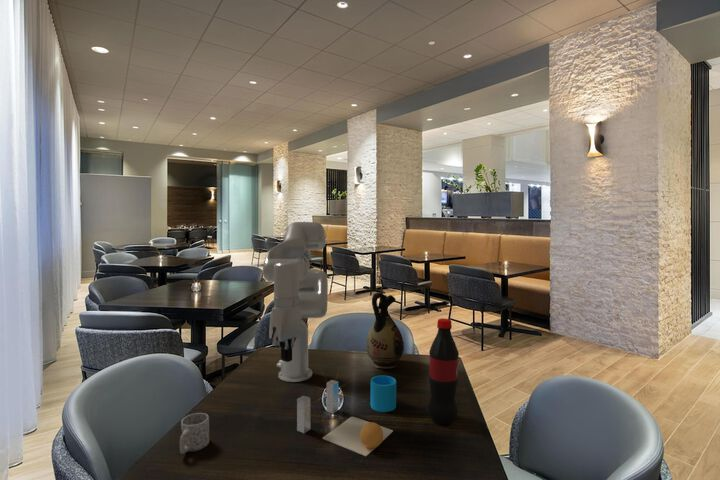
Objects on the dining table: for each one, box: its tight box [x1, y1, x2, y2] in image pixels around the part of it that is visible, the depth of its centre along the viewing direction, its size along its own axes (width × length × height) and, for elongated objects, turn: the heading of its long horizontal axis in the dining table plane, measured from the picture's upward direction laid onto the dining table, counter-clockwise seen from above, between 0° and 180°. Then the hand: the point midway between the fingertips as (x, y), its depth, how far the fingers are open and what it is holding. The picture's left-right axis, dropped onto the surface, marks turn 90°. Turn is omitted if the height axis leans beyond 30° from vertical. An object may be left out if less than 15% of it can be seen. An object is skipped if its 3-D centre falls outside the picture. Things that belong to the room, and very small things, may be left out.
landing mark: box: [322, 416, 394, 457], centre depth 105 cm, size 14×14×1 cm
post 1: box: [296, 395, 311, 434], centre depth 107 cm, size 3×3×9 cm
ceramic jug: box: [365, 292, 405, 370], centre depth 155 cm, size 17×15×30 cm
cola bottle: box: [427, 317, 459, 425], centre depth 113 cm, size 8×8×30 cm
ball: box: [360, 421, 384, 449], centre depth 99 cm, size 6×6×6 cm
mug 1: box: [179, 412, 210, 455], centre depth 98 cm, size 10×7×7 cm, turn 174°
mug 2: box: [369, 375, 397, 413], centre depth 124 cm, size 12×8×8 cm
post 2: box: [326, 379, 339, 414], centre depth 118 cm, size 3×3×9 cm
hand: (286, 360), depth 119 cm, fingers closed
